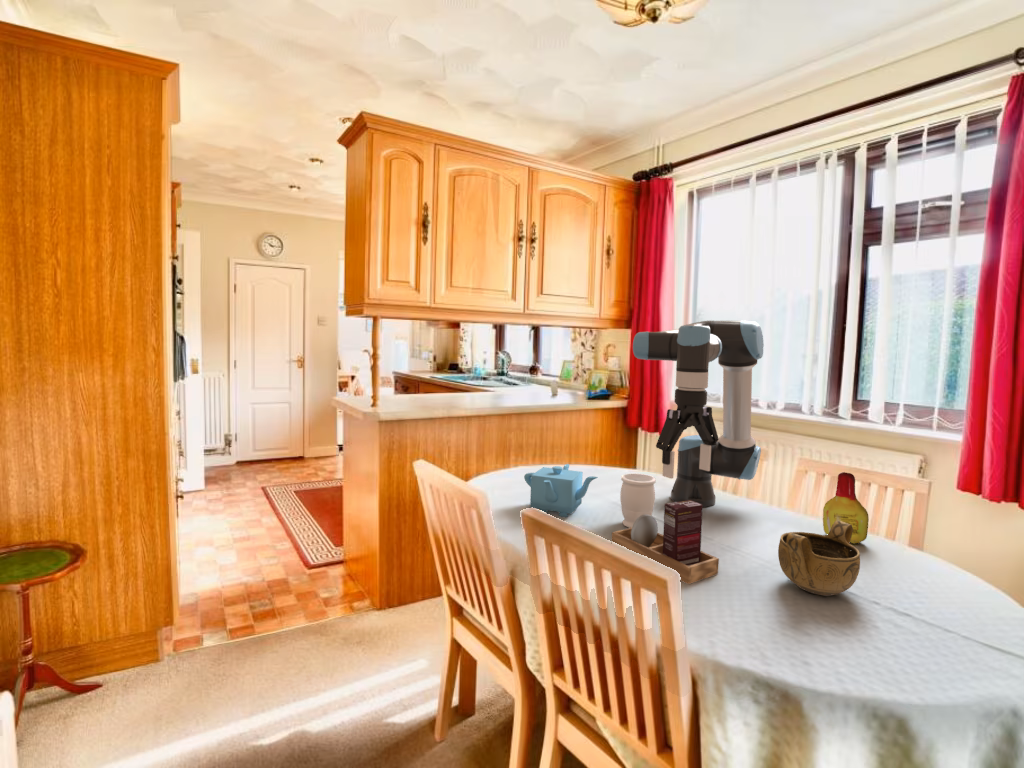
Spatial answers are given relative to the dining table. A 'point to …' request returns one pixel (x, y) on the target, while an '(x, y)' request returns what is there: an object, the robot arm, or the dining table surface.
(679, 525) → the supplement box
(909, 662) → the dining table surface
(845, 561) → the ceramic bowl
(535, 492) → the teakettle
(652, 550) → the tray
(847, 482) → the bottle
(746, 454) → the robot arm
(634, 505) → the jar
